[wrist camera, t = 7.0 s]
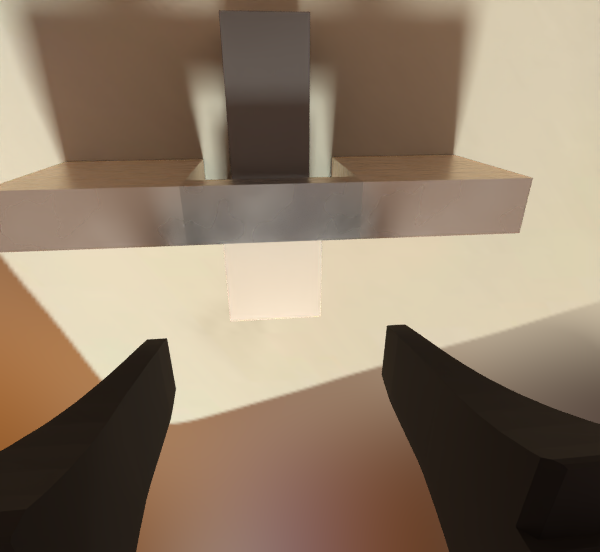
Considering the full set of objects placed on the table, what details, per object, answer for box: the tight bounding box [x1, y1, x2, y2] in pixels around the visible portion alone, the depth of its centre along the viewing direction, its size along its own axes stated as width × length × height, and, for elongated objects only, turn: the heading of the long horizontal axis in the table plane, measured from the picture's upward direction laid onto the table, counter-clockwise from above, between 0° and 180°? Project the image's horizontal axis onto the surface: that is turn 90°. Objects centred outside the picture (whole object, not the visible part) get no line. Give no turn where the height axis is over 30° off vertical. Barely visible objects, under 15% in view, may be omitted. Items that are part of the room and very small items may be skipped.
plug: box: [219, 11, 322, 321], centre depth 17 cm, size 4×12×4 cm, turn 0°
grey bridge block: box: [0, 155, 533, 252], centre depth 16 cm, size 18×2×6 cm, turn 90°
